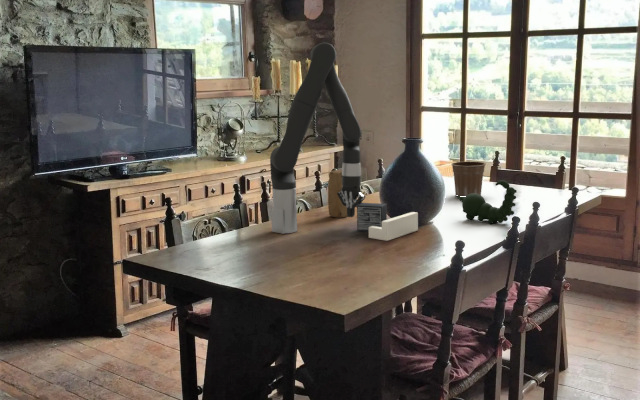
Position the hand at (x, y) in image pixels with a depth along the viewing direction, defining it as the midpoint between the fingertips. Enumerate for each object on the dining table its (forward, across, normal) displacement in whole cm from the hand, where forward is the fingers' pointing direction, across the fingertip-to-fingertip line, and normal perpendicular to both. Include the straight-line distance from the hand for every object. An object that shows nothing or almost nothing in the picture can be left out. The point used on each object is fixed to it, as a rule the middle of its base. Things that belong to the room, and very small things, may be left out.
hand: (350, 216), depth 275 cm
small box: (+4, +10, 0) cm, 11 cm away
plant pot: (+3, +7, +85) cm, 86 cm away
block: (+4, -16, +15) cm, 22 cm away
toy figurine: (+3, +39, +39) cm, 55 cm away
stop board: (+4, +21, 0) cm, 21 cm away
